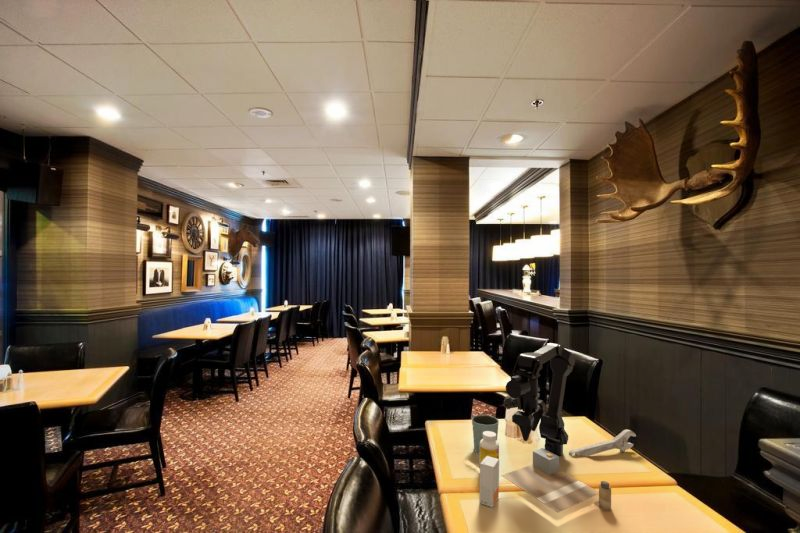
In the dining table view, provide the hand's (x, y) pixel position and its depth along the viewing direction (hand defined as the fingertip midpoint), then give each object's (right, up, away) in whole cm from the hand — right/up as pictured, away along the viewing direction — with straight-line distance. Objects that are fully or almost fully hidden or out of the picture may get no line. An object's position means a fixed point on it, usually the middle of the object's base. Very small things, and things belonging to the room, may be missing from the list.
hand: (529, 435), depth 131 cm
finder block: (+6, -12, +1) cm, 13 cm away
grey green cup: (-12, -13, +16) cm, 24 cm away
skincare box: (-18, -13, -16) cm, 27 cm away
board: (+3, -13, -9) cm, 16 cm away
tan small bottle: (+16, -13, -19) cm, 28 cm away
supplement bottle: (-14, -13, +1) cm, 19 cm away
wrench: (+33, -14, +14) cm, 38 cm away
